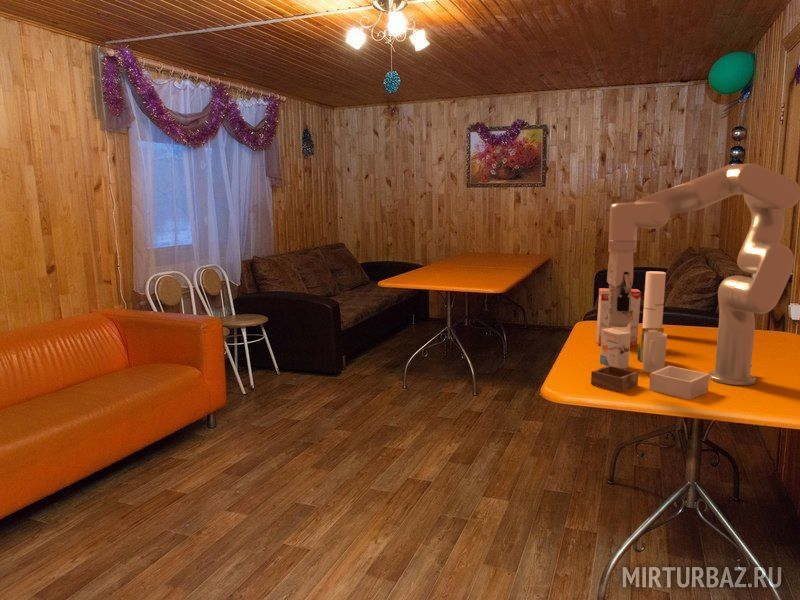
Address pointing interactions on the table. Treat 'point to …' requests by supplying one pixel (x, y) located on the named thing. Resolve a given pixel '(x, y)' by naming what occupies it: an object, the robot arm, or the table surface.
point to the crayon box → (641, 341)
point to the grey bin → (679, 382)
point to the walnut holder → (614, 378)
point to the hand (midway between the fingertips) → (619, 308)
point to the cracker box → (603, 314)
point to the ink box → (615, 346)
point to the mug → (654, 351)
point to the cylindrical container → (654, 300)
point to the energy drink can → (616, 316)
